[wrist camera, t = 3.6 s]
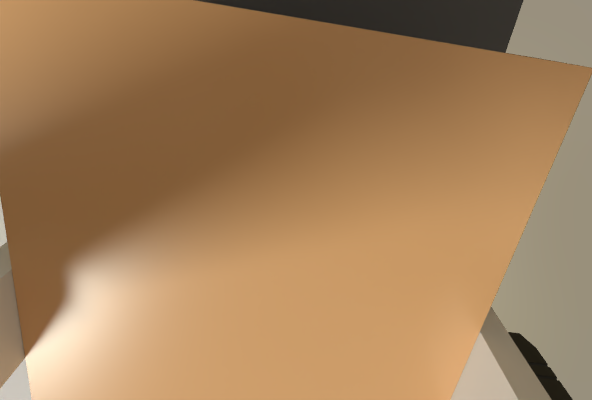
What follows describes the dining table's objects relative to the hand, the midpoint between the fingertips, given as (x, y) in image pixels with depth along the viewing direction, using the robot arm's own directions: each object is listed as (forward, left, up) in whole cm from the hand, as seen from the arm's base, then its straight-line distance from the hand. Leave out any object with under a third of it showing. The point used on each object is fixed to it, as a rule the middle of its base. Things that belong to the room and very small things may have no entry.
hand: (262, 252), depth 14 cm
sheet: (0, 0, +3) cm, 3 cm away
